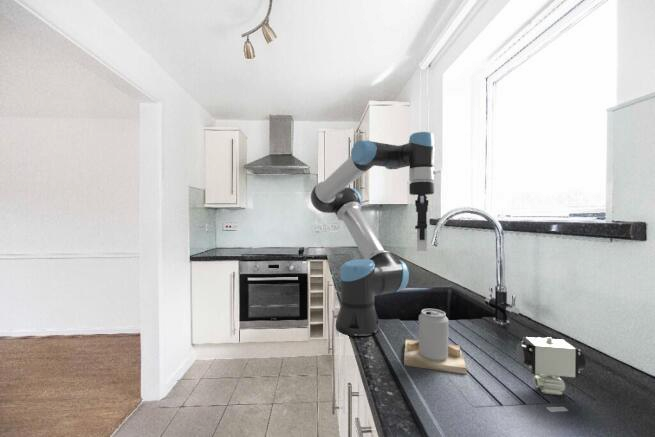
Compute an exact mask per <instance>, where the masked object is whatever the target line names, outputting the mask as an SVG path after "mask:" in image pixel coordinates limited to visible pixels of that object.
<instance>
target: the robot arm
mask: <svg viewBox="0 0 655 437" xmlns="http://www.w3.org/2000/svg"><path fill="white" fill-rule="evenodd" d="M374 166H375V167H385V169H387V170H398V169H403V168H406V167H408V168H409V170H408V171H409V172H408V173H409V174H408V177H409V178H408V180H409V182H410V183H409V194H410V195H411V196H417V198H416V199H415V200H414V201H415V202H414V204H415V212H416V213H417V219H416V220H417V222H416V225H415V226H414V229H415V230H416V246H417V247H416V251H417V252H427V250H428V246H427V245H428V243H427V242H428V241H427V240H428V229H427V228H428V224H427V221H428V220H427V212H428V211H429V210H428V209H429V208H428V207H429V200H428V197H427V195H429V196H430V195H434V193H435V182H433V181H434V180H435V175H436V174H437V171H436V170H435V137H434V134H433V133H432V132H429V131H419V132H414V133H412V134H411V135H410V136H409V140H408V142H407V143H405V144H401V145H400V144H399V145H395V144H389V143H384V142H377V141H373V140H356V141H355V143H354V144H353V146H352V148H351V151H350V156H349V157H348V158H347V159H346V160H345V161H344V162H343V163H342V164H340V166H339V167H338V168H336V170H334V171H333V173H331V174H330V175H329V176H328V177H327V178H325V180H324V181H320V182H318V183H317V184H316V185H315V186H314V187H313V189H312V190H311V193H310V201H311V205H312V206H313V207H314V208H315V209H316V210H317V211H319V212H320V213H326V214H327V213H330V214H335V215H336V217H337V219H338V220H339V221H341V222H342V221H343V223H344V225H345V226H346V229H347V230H348V232H349V234H350V236H351V237H352V239H353V241H354V243H355V245H356V246H357V248H358V249H359V253H361V255H362V257H363V258H360V259H358V258H357V259H356V258H355V259H352V260H349V261H346V262H344V263H343V264H342V265H341V267H340V275H339V278H340V306H339V310H338V314H337V317H336V320H335V330H336V331H337V332H338V333H340V334H342V335H345V336H349V337H353V336H352V335H353V334H371V333H372V332H373V331H374V330H376V329H378V328H379V329H380V321H379V317H378V314H377V311H376V308H375V297H376V296H380V295H386V294H394V293H397V292H401V291H403V290H404V289H406V287H407V285H408V283H409V276H410V275H409V274H410V273H409V268H408V266H407V264H406V263H405V262H404V261H403V260H400V259H397V258H396V259H395V257H394V255H393V254H392V253H391V251H389V250H385V249H384V247H383V246H382V244H381V242H380V241H379V239H378V238H377V235H376V234H375V232H374V230H373V229H372V227H371V226H370V225H369V222H368V221H367V220H366V218H365V216H364V215H363V213H362V212H361V210H362V202H363V201H362V195H361V194H360V192H359V191H358V190H357V189H355V188H352V187H349V186H350V185H351V184H352V183H354V182H355V181H356V180H357V179H359V178H360V177H361V176H362V175H364V174H365V173H366V172H367V171H369V170H370V169H372V168H374Z"/></svg>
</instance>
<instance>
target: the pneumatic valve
mask: <svg viewBox="0 0 655 437" xmlns="http://www.w3.org/2000/svg"><path fill="white" fill-rule="evenodd" d="M520 342H521V343H517V345H516V348H515V351H516V352H515V354H516V357H517V360H518V362H519V364H521V365H523V366H525V367H526V368H527V370H529V372H530V373H531V374H535V375H534V376H533V382H534V386H535V388H537V389H540V391H541V393H543V394H544V395H545V394H547V395H553V396H556V395H557V396H562V395H563V392H564V391H565V389H566V384H565V381H564V380H563V379H562V378H560V377H567V378H579V374H580V373H581V371H583V370H585V369H586V364H587V362H586V357H585V355H584V353H583V351H582V349H580V348H579V347H576V345H573V344H572V343H571V342H570V341H568V340H566V339H559V338H557V339H555V338H552V337H551V336H546V337H540V336H538V337H530V336H529V337H528V336H522V340H521V341H520Z"/></svg>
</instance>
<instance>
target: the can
mask: <svg viewBox="0 0 655 437" xmlns="http://www.w3.org/2000/svg"><path fill="white" fill-rule="evenodd" d="M420 312H421V313H420V314H419V315H418V340H419V353H420V354H421V355H422V356H423V357H424V358H426V359H428V360H431V361H442V360H444V359H445V358H447V357H448V344H449V318H448V317H447V316H446V315H447V313H446V312H445V311H443V310H441V309H437V308H423V309H421V311H420Z"/></svg>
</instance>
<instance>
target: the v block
mask: <svg viewBox="0 0 655 437" xmlns="http://www.w3.org/2000/svg"><path fill="white" fill-rule="evenodd" d="M404 342H405V344H404V356H403V365H404V366H407V367H414V368H415V367H416V368H421V369H427V370H428V369H429V370H435V371H436V370H437V371H442V372H449V373H456V374H464V375H467V372H468V371H467V370H468V369H467V366H466V363H465V359H464V357H463V356H464V355H463V353H462V350H461V346H460V345H457V344H450V343H448V357H447V358H445V359H444V360H442V361H431V360H428V359H426V358H424V357H423V356H422V355H421V354H420V353H419V339H416V340H415V339H405V341H404Z"/></svg>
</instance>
